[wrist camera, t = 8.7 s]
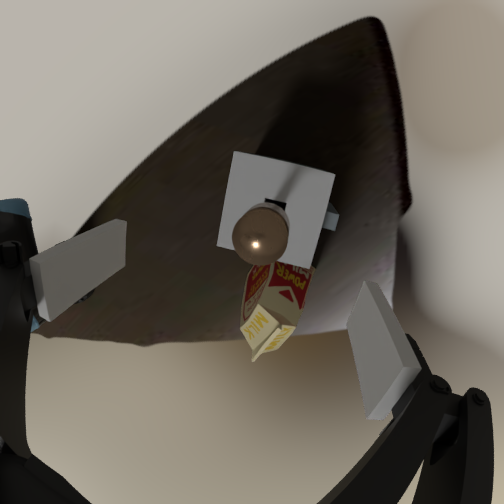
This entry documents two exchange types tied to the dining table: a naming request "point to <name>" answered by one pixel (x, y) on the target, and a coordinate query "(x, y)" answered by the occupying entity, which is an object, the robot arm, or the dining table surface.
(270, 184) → the grey box with hole
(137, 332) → the dining table surface
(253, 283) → the milk carton
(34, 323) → the robot arm
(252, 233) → the plunger
